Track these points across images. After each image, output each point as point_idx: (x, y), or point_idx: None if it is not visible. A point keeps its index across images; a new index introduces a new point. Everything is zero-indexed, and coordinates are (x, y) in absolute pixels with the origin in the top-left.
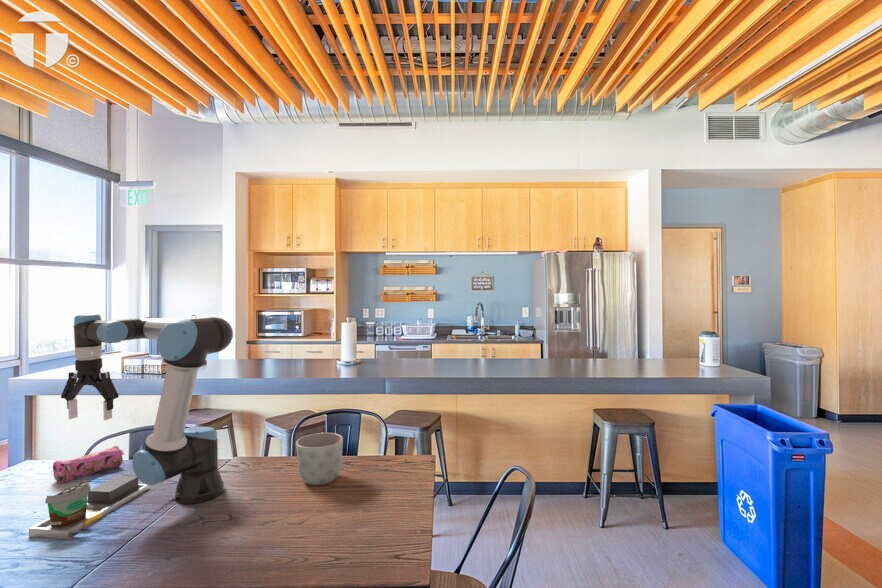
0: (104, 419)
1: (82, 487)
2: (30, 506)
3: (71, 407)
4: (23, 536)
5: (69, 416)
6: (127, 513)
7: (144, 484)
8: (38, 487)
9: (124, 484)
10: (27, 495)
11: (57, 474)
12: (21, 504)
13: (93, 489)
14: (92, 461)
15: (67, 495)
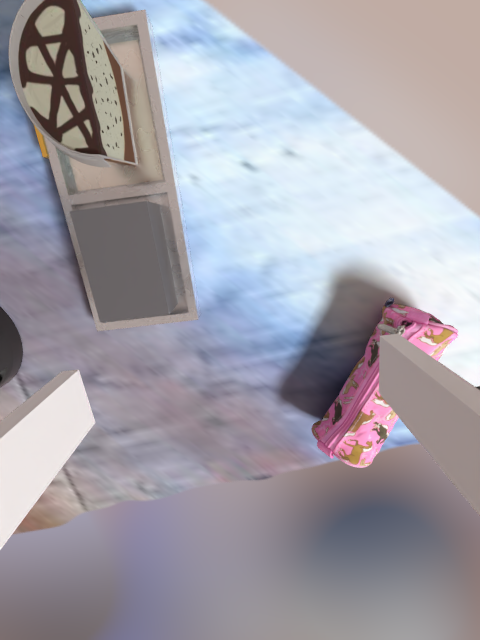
0: (69, 373)
1: (53, 118)
2: (338, 177)
3: (440, 399)
4: (171, 24)
5: (400, 342)
6: (34, 210)
7: (109, 327)
8: (434, 277)
9: (86, 270)
10: (417, 230)
11: (409, 310)
12: (378, 181)
13: (138, 214)
14: (358, 383)
15: (17, 29)
